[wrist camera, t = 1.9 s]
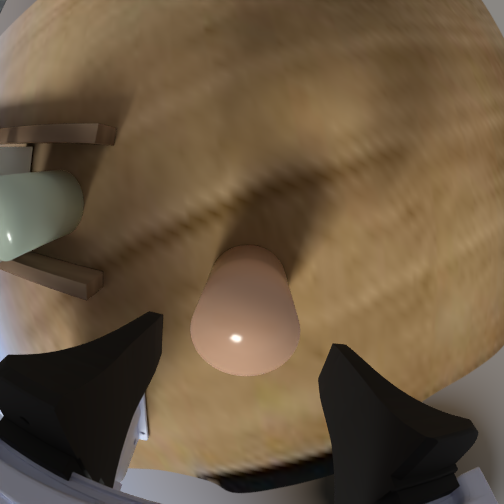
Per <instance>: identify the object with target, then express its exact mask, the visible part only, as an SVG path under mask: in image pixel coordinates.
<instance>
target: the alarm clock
mask: <svg viewBox="0 0 504 504" xmlns="http://www.w3.org/2000/svg"><path fill="white" fill-rule="evenodd" d="M5 2H6V0H0V13H1V11H2V8H3V6H4V4H5Z"/></svg>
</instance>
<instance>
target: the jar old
mask: <svg viewBox="0 0 504 504" xmlns="http://www.w3.org/2000/svg"><path fill="white" fill-rule="evenodd" d="M83 207H84V201H83V194H82V190H81V187H80V185H79V183H78V181H77V180H76V178H75V177H74V176H73V175H72V174H71V173H69V172H67V171H65V170H52V171H40V172H29V173H20V174H11V175H3V176H0V260H1V261H10V260H12V259H14V258H16V257H18V256H21V255H23V254H25V253H27V252H29V251H31V250H33V249H35V248H38V247H40V246H42V245H44V244H47V243H49V242H51V241H53V240H56V239H58V238H60V237H63V236H65V235H67V234H70V233H71V232H73V231H74V230H75V229H76V227H77V226H78V224H79V222H80V220H81V217H82V214H83Z"/></svg>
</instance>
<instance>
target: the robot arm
mask: <svg viewBox="0 0 504 504" xmlns="http://www.w3.org/2000/svg"><path fill="white" fill-rule="evenodd" d="M162 329H163V315H162V314H158V313H154V312H150V311H149V312H147V313H146V314H144V315H142V316H140V317H139V318H137V319H135V320H134V321H132V322H130V323H128V324H126V325H125V326H123V327H121V328H119V329H117V330H115V331H113V332H111V333H109V334H107V335H105V336H103V337H101V338H99V339H96V340H94V341H91V342H88V343H85V344H82V345H79V346H76V347H72V348H68V349H64V350H60V351H55V352H49V353H41V354H28V355H7V356H6V357H5V358H4V359H3V360H2V361H1V362H0V410H1V412H2V414H3V415H4V416H3V418H2V419H1V420H0V504H160V503H156V502H153V501H149V500H146V499H142V498H139V497H135V496H133V495H129V494H127V493H123V492H121V491H120V489H121V486H122V484H121V483H120V482H121V481H122V480H123V479H124V477H125V475H126V472H127V469H128V467H129V464H130V461H131V458H132V455H133V453H134V450H135V447H136V445H137V442H138V439H142V440H148V438H149V435H148V426H147V415H146V403H145V391H146V389H147V387H148V385H149V383H150V381H151V379H152V377H153V375H154V373H155V371H156V368H157V365H158V362H159V359H160V357H161V354H162ZM318 382H319V392H320V399H321V403H322V407H323V411H324V415H325V419H326V423H327V427H328V431H329V434H330V439H331V444H332V452H333V462H334V477H335V503H334V504H498V503H497V501H496V498H495V497H494V495H493V493H492V491H491V489H490V487H489V485H488V483H487V481H486V479H485V477H484V475H483V473H482V472H481V470H480V468H479V467H477V468H475V469H472V470H470V471H468V472H466V473H464V474H462V475H460V476H459V477H457V478H456V476H455V474H454V473H455V472H456V471H457V470H458V468H457V466H456V464H455V463H456V462H457V461H458V460H459V459H460V458H461V457H462V456H463V455H464V454H465V453H466V452H467V451H468V450H469V449H470V448H471V447H472V445H473V444H474V443H475V441H476V439H477V436H478V431H477V430H476V428H475V427H474V425H473V423H472V422H471V420H469V419H466V418H462V417H458V416H455V415H451V414H448V413H445V412H442V411H440V410H437V409H435V408H432V407H430V406H428V405H426V404H424V403H422V402H420V401H418V400H416V399H414V398H413V397H411V396H409V395H408V394H406V393H405V392H403V391H401V390H400V389H398V388H397V387H396V386H394V385H393V384H391V383H390V382H389V381H388V380H386V379H385V378H384V377H382V376H381V375H380V374H379V373H378V372H377V371H375V370H374V369H373V368H372V367H371V366H370V365H369V364H367V363H366V362H365V361H364V360H363V359H362V358H361V357H360V356H359V355H357V354H356V353H355V352H354V351H353V350H352V349H351V348H349V347H348V346H347V345H344V344H334V343H333V344H332V347H331V349H330V352H329V354H328V357H327V359H326V361H325V364H324V366H323V369H322V371H321V373H320V376H319V378H318Z"/></svg>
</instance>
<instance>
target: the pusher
mask: <svg viewBox="0 0 504 504" xmlns="http://www.w3.org/2000/svg"><path fill="white" fill-rule="evenodd" d="M32 150H33V147H0V176H3V175H11V174H20V173H29V172H30V167H31V158H32ZM0 262H2V261H1V260H0Z"/></svg>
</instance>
